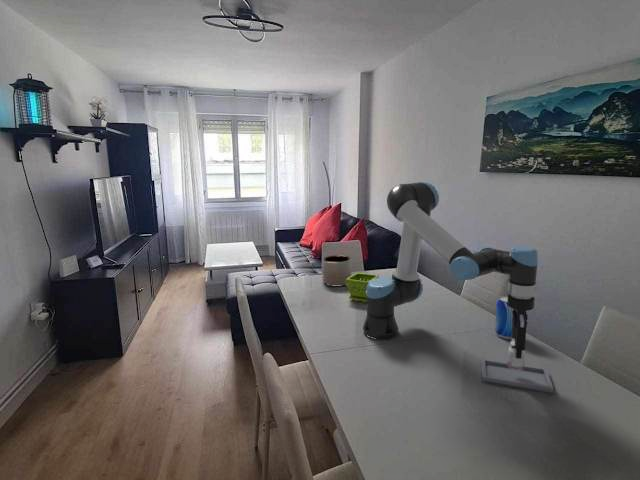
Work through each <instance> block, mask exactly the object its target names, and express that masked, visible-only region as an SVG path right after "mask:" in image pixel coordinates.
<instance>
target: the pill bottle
mask: <svg viewBox="0 0 640 480" xmlns="http://www.w3.org/2000/svg"><path fill="white" fill-rule="evenodd" d="M512 346H515V341H512V340H511V341H510V343H509V347H508V352H507V353H508V354H507V363H508V367H509V368H511V369H513V370H523V368H524V365H525V356H526V354H525V353H526V350H523V362H522V367H517V366H513V365H512V364H513V350H514V348H512Z"/></svg>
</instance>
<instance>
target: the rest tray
mask: <svg viewBox="0 0 640 480" xmlns="http://www.w3.org/2000/svg"><path fill="white" fill-rule="evenodd" d="M481 373H482V376H481V379H482V382H484V383H487V384H488V383H489V384H493V385H501V386H505V387H506V386H507V387H511V388H515V389H516V388H517V389H523V390H527V391H534V392H539V393H546V394H551V395H554V391H555V390H554V389H555V388H554V385H553V383H552V381H551V377H550V375H549V372H548V369H547V368H546V367H539V366H532V365H528V364H527V365H526V364H524V368H523V370H513V369H511V368H509V367H508V361H507V362H506V361H499V360H493V359H486V358H481Z"/></svg>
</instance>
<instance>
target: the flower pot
mask: <svg viewBox="0 0 640 480" xmlns="http://www.w3.org/2000/svg"><path fill="white" fill-rule="evenodd" d="M351 275H352V276H350V277H349V278H347V279H346V284H347V285H346V287H347V291H348V293H349V295H348V298H349V300H351V299H352V300H351V301H354V300H357V301H356V302H359V301H362V302H361V303H365V302H367V295H366V291H367V284H368V283H369V282H370V281H371V280H373V279H375V278H380V277H379V275H377V274H370V273H362V272H356V273H354V274H351Z"/></svg>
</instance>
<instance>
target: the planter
mask: <svg viewBox="0 0 640 480" xmlns="http://www.w3.org/2000/svg"><path fill="white" fill-rule="evenodd" d="M352 275H353V274H352V258H351V257H350V256H348V255H343V254H342V255H341V254H336V255H328V256H325V257H323V258H322V277H323V279H322V281H323V284H325V283H326V284H329V285H345V286H347V285H346V279H347V278H349V277H350V276H352ZM326 284H325V285H326ZM329 285H328V286H329Z"/></svg>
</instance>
